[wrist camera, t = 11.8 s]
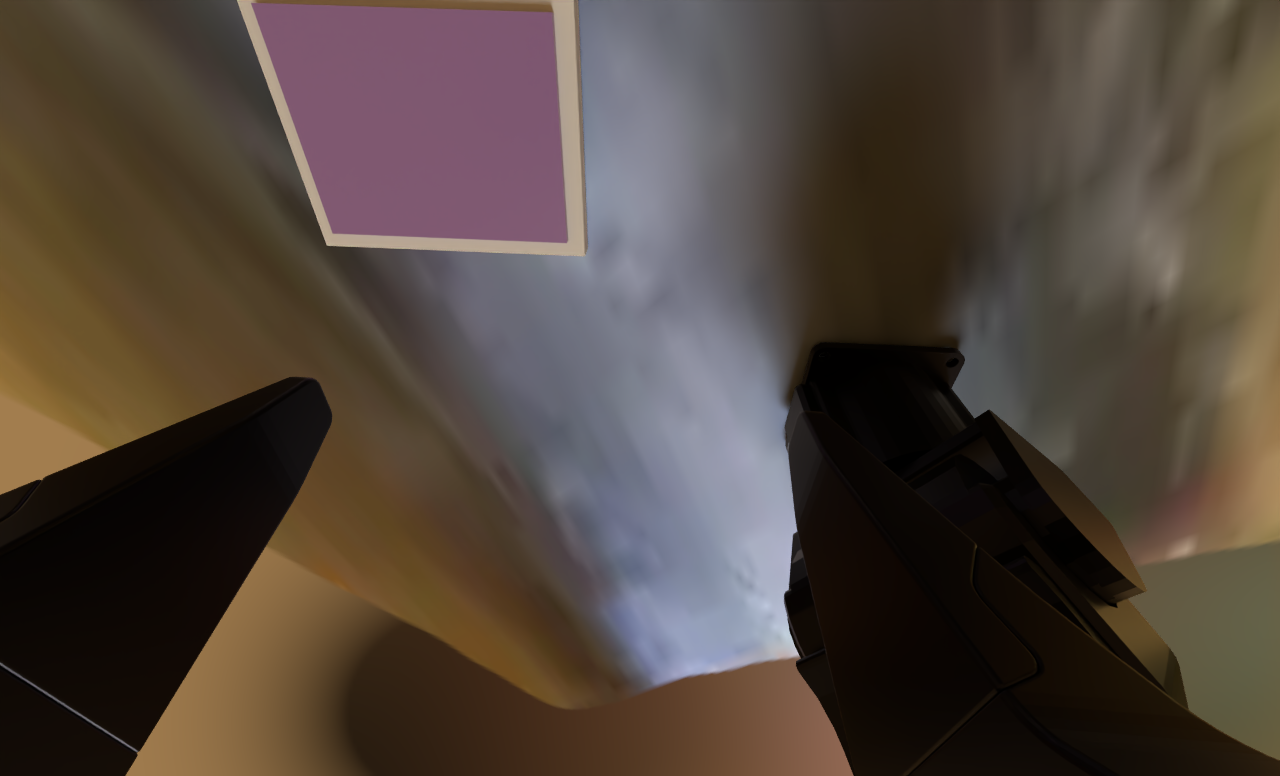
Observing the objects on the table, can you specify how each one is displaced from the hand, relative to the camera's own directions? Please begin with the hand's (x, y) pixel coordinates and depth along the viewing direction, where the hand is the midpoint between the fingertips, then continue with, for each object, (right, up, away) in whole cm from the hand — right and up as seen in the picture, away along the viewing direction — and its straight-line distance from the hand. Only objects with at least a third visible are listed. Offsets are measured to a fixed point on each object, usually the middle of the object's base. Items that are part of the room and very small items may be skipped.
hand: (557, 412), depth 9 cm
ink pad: (-5, +9, +8) cm, 13 cm away
